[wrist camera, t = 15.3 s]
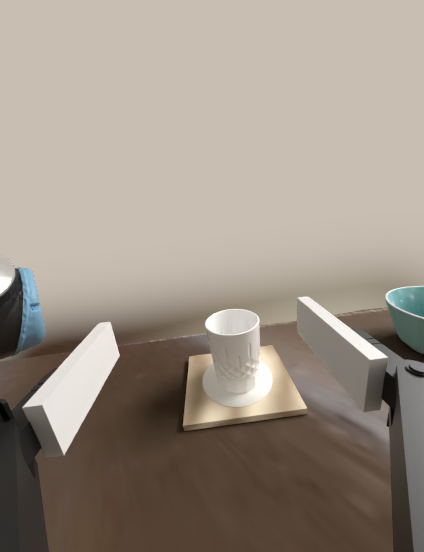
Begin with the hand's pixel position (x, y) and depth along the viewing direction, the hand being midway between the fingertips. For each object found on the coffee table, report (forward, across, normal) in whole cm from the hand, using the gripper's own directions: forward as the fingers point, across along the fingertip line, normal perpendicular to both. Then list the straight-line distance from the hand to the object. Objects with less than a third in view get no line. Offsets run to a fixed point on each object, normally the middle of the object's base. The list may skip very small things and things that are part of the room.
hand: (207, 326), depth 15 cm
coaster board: (+14, +3, -19) cm, 24 cm away
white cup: (+14, +4, -18) cm, 23 cm away
